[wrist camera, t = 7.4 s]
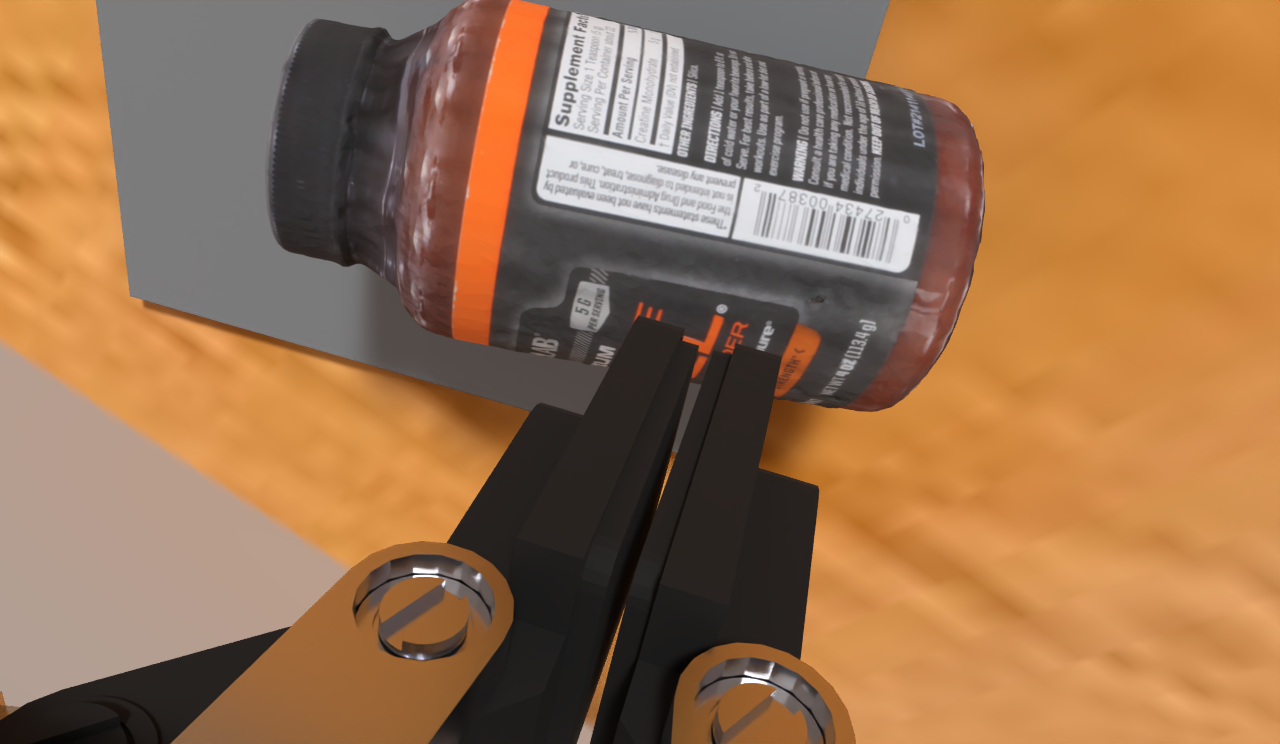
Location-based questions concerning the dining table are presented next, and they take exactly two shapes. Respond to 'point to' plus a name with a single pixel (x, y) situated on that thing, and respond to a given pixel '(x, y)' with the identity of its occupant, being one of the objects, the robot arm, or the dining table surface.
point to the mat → (236, 151)
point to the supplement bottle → (631, 193)
